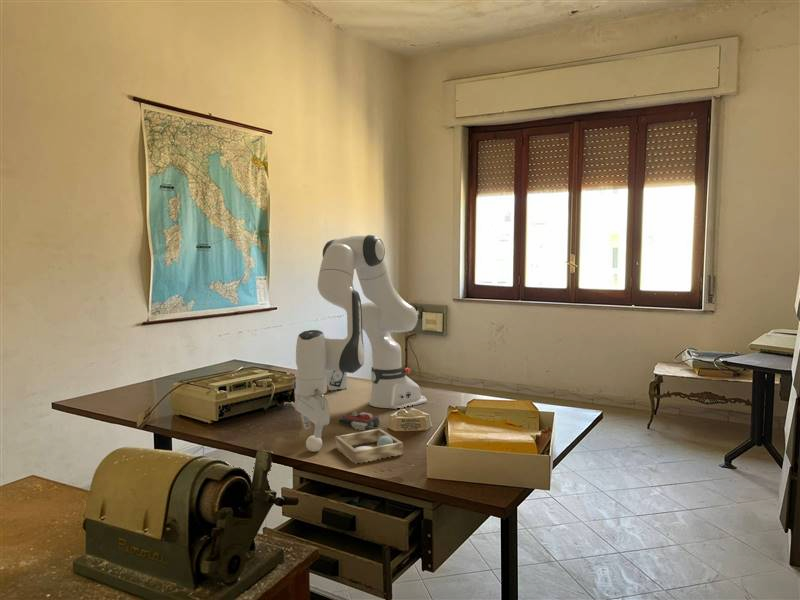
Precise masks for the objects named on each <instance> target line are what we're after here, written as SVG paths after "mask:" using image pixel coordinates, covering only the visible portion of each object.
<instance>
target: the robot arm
mask: <svg viewBox="0 0 800 600" xmlns="http://www.w3.org/2000/svg"><path fill="white" fill-rule="evenodd" d="M385 251H386V249H385V245H384V242H383V240H382V239H381V238H380V237H379V236H377V235H371V234H367V235H353V236H348V237H343V238H338V239H337V238H334V239H331V240H329V241H327V242H326V243H325V245H324V246H323V249H322V260H321V264H320V267H319V272H318V277H317V290H318V292H319V294H320V296H321V297H322V298H323V299H324V300H325V301H327V302H329V303H330V304H331V305H334V306H337V307H338V308H341V309H343V310H344V311H345V312H346V318H347V319H346V321H347V323H346V325H347V326H346V328H347V336H346V337H345V338H342V339H341V338H340V339H339V338H326V337H325V335H324V332H323V331H322V330H318V329H311V330H304V331H302V332H300V333H299V334H298V335H297V340H296V345H295V346H296V347H295V364H296V368H297V370H296V376H295V380H293V381H292V388H293V389H294V403H295V407H296V408H295V409H296V410H297V412H298V413H301V419H302V423H303V429H305V430H309V429H311V427H312V426H311V425H312V423H313V424H314V431H313V435H314V436H315V437H316V438H321V439H322V436H323V435H322V433H323V429H324V426H328V425H329V424H330V405H329V400H328V398H327V397H326V396H324V395H325V394H326V393H327V392H328V391H327V374H326V371H325V370H331V371H342V372H347V373H348V374H354V373H355V372H357V371H358V370H359V369H361V367H362V366H364V363H365V347H364V340H363V334H364V333H365V334H366V336H367V338H368V340H369V343H370V344H369V345H370V346H371V356H372V357H371V358H372V361H371V362H372V366H371V371H370V372H371V392H370V398H369V400H368V401H369V402H368V405H370V406H372V407H375V408H380V409H394V410H398V409H397V408H400V409H405V408H408V407H407V406H409V407H412V405H413V406H417V405H420V404H425V403H427V402H428V399H427V397H426V396H425V395H422V393H421V392H422V391H421V389H420V386H419V384H417V383H416V381H414V380H412V379H411V378H409V376H407V375H406V374H410V373H411V368H409V367H404V366H402V348H401V345H400V344H399V343H398V342H397V341H396V340H394V338H393V337H392V336H391V333H406V332H411V331H413V330H414V328H416V326H417V324H418V321H419V316H418V315H419V314H418V312H417V310H416V308H415V307H414V306H413V305H412V304H409V303H408V302H407V301H405V300H404V299H403V298H402V296H401V295H399V293H398V292H397V290H396V289H395V288H394V285H393V282H392V280H391V277H390V274H389V272H388V267H387V265H386V262H385V255H386V254H385V253H386V252H385ZM355 271H356V272H355ZM355 273H356V276H357V278H358V281H359V284H360V288H361V291H362V294H363V296H364V298H366V299H367V300H369V301H370V302H369V301H368V302H364V303H362V300H361V299H362V298H361V296H360V294H359V292H358V291H356V290H355V289H354V284H353V282H354V274H355ZM363 331H364V333H363ZM404 407H405V408H404ZM400 409H399V410H400Z"/></svg>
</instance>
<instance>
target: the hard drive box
mask: <svg viewBox="0 0 800 600" xmlns="http://www.w3.org/2000/svg"><path fill="white" fill-rule="evenodd" d="M325 371H326V374H327V392H328V391H329V390H330V391H338V390H337V389H341V390H346V389H345V388H347V386H348V385H347V383H348V380H347V377H348V375H347V373H348V372H342V371H331V370H325Z"/></svg>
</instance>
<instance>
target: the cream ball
mask: <svg viewBox="0 0 800 600" xmlns="http://www.w3.org/2000/svg"><path fill="white" fill-rule="evenodd" d="M322 446H323V440H322V437H321V438H316V437H315V436H314V434H313V435H312V434H311V435H310V436H308V438H306V440H305V447H306V449H307V450H308V451H310V452H313V453H315V452H318V451H319V450H320V449H321V448H322Z"/></svg>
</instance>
